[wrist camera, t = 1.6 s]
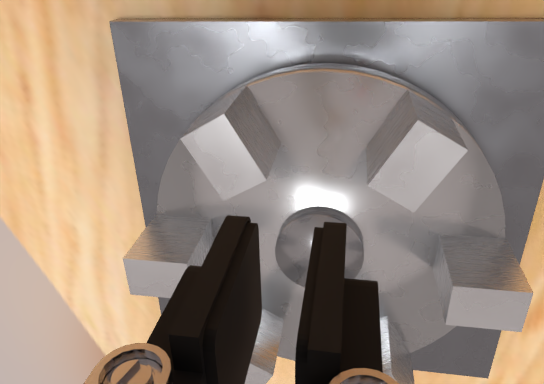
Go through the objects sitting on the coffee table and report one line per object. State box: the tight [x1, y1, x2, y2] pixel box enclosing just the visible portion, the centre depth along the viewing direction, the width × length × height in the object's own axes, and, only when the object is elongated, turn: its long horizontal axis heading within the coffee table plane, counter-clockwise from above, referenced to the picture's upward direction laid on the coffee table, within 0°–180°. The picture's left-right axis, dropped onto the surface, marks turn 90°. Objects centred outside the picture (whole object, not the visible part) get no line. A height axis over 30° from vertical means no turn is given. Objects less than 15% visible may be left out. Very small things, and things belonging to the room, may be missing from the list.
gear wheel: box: [123, 63, 533, 384], centre depth 26 cm, size 20×20×6 cm
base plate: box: [110, 18, 544, 378], centre depth 30 cm, size 24×24×1 cm
